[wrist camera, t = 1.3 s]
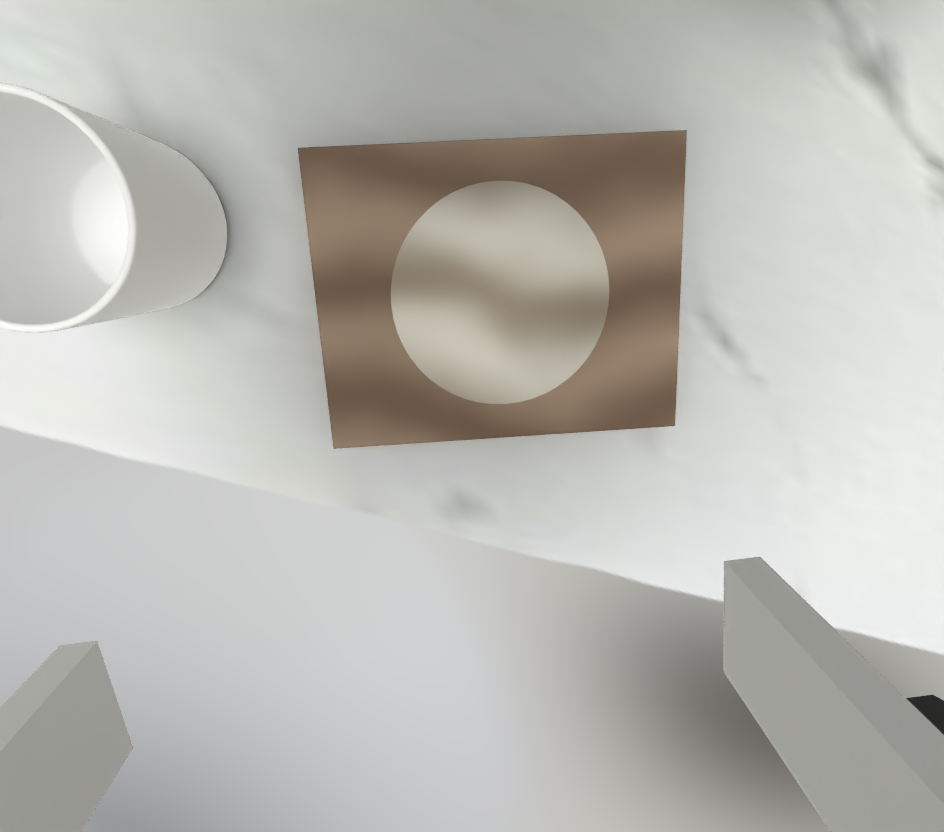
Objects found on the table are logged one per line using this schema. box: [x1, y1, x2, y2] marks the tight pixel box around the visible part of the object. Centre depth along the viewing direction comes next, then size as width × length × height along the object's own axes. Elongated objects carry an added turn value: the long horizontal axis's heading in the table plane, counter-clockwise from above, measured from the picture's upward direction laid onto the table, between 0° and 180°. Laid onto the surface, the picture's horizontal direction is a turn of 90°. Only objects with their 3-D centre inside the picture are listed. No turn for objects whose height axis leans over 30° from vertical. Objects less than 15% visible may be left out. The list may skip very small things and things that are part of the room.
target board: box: [298, 130, 687, 449], centre depth 33 cm, size 16×20×1 cm
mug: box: [0, 82, 227, 333], centre depth 26 cm, size 9×12×11 cm
